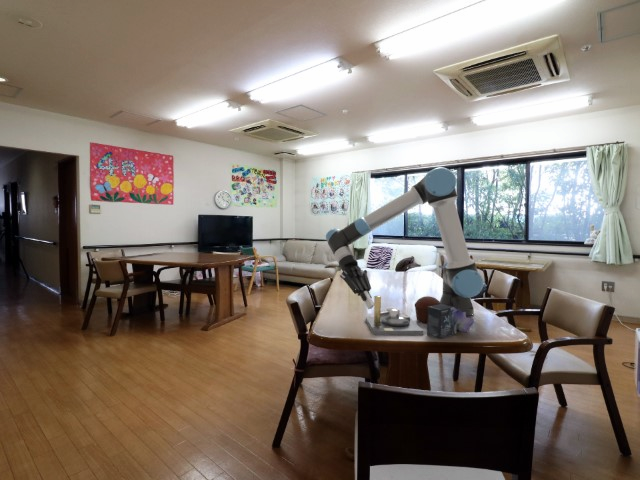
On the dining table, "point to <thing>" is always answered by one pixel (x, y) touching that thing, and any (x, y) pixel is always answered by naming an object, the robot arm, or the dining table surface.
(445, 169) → the robot arm
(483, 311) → the dining table surface
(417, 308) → the muffin
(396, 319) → the crank handle
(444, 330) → the box
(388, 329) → the stand
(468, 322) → the flower
